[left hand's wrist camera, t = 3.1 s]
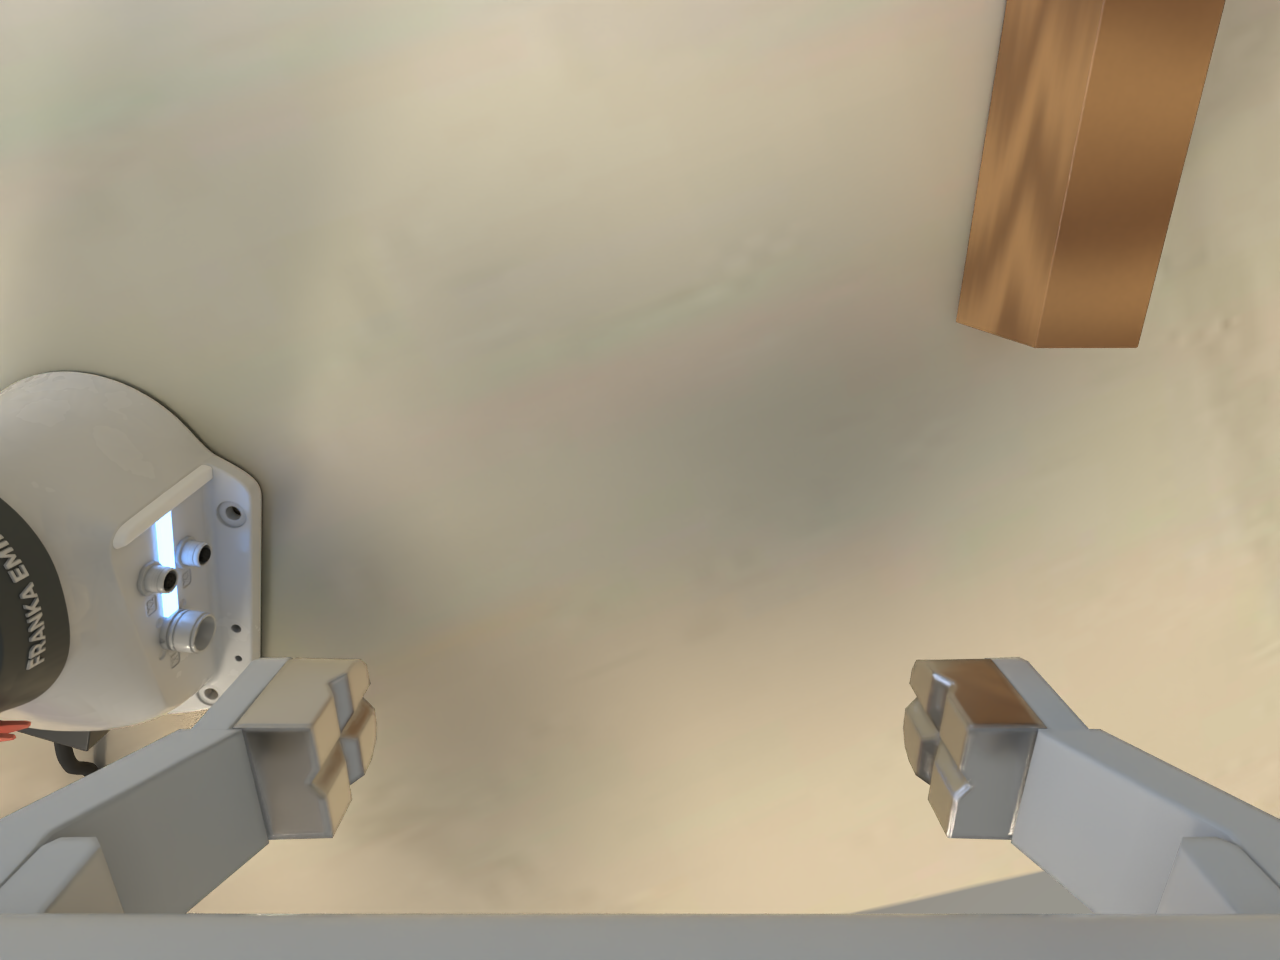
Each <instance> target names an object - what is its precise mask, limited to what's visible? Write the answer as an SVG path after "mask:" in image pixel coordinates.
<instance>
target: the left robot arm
mask: <svg viewBox="0 0 1280 960" xmlns="http://www.w3.org/2000/svg"><path fill="white" fill-rule="evenodd" d="M232 507H236V508H237V509H238V510H239V511H240V513H241V515H238V514H236V513H235V512H234V511H233V508H232ZM261 514H262V495H261V489H260V487H259V485H258V483H257V482H256V480H255V479H254V478H253V477H252V476H250V475H249V474H248V473H246V472H245V471H243V470H242V469H240V468H239V467H237V466H235V465H233V464H232V463H230V462H228V461H226V460H224V459H222V458H220V457H219V456H217V455H215V454H213V453H212V452H211V451H210V450H208V449H207V448H206V447H205V446H204V445H203V444H202V443H201V442H200V441H199V440H198V439H197V438H196V437H195V436H194V434H193V433H192V432H191V431H190V430H189V429H188V428H187V427H186V426H185V425H184V424H183V423H182V422H181V421H180V420H179V419H178V418H177V417H176V416H175V415H173V414H172V413H171V412H170V411H169V410H167V409H166V408H165V407H163V406H162V405H161V404H159V403H158V402H156V401H155V400H154V399H152V398H150V397H149V396H147V395H145V394H144V393H142V392H140V391H138V390H136V389H134V388H132V387H130V386H128V385H125V384H123V383H121V382H118V381H115V380H112V379H109V378H106V377H102V376H98V375H94V374H89V373H82V372H70V371H59V372H48V373H42V374H37V375H33V376H30V377H27V378H24V379H21V380H19V381H17V382H15V383H13V384H11V385H10V386H8V387H7V388H5V389H4V390H3V391H1V392H0V742H1V741H9V740H14V739H15V738H16V736H15V735H13V734H8V733H11V732H14V731H18V732H21V733H25V734H28V735H32V736H35V737H39V738H42V739H45V740H49V741H52V742H54V746H55V751H56V755H57V758H58V761H59V763H60V764H61V766H62V768H63V769H64V770H65V771H66V772H67V773H70V774H76V775H84V776H85V777H83V778H81V779H79V780H77V781H75V782H73V783H71V784H69V785H67V786H65V787H63V788H61V789H59V790H57V791H55V792H53V793H51V794H49V795H47V796H45V797H43V798H41V799H39V800H37V801H35V802H33V803H31V804H29V805H27V806H25V807H23V808H21V809H19V810H17V811H15V812H14V813H12V814H10V815H8V816H6V817H4V818H2V819H0V960H1280V819H1278V818H1276V817H1274V816H1272V815H1270V814H1268V813H1266V812H1264V811H1262V810H1260V809H1258V808H1256V807H1254V806H1252V805H1250V804H1248V803H1246V802H1244V801H1242V800H1240V799H1238V798H1236V797H1234V796H1232V795H1230V794H1228V793H1226V792H1224V791H1222V790H1220V789H1218V788H1216V787H1214V786H1212V785H1210V784H1208V783H1206V782H1204V781H1202V780H1200V779H1198V778H1196V777H1194V776H1192V775H1190V774H1188V773H1186V772H1184V771H1182V770H1180V769H1178V768H1176V767H1174V766H1172V765H1170V764H1168V763H1166V762H1164V761H1162V760H1160V759H1159V758H1157V757H1155V756H1153V755H1151V754H1149V753H1147V752H1145V751H1143V750H1141V749H1139V748H1137V747H1135V746H1133V745H1131V744H1129V743H1127V742H1125V741H1123V740H1121V739H1119V738H1117V737H1115V736H1113V735H1111V734H1109V733H1107V732H1105V731H1103V730H1101V729H1088V728H1087V726H1086V725H1085V724H1084V723H1083V722H1082V721H1081V720H1080V719H1079V718H1078V716H1077V715H1076V714H1075V713H1074V712H1073V711H1072V710H1071V709H1070V708H1069V706H1068V705H1067V704H1066V703H1065V702H1064V701H1063V700H1062V699H1061V698H1060V696H1059V695H1058V694H1057V693H1056V692H1055V691H1054V690H1053V689H1052V688H1051V686H1050V685H1049V684H1048V683H1047V682H1046V681H1045V680H1044V679H1043V678H1042V676H1041V675H1040V674H1039V673H1038V672H1037V671H1036V670H1035V669H1034V668H1033V666H1032V665H1031V664H1030V663H1029V662H1028V661H1026V660H1024V659H1022V658H1020V657H1004V658H985V659H942V660H916V662H915V664H914V666H913V668H912V672H911V678H910V683H909V684H910V685H911V687H912V689H913V691H914V692H915V694H916V696H917V697H916V698H915V700H914V701H913V702H912V703H911V704H910V705H909V706H908V707H907V708H906V709H905V716H904V725H903V732H904V743H905V749H906V753H907V756H908V759H909V762H910V764H911V766H912V768H913V771H914V773H915V775H916V776H918V777H919V778H921V779H922V780H923V781H925V782H926V783H928V784H929V785H930V789H929V795H928V801H929V803H930V805H931V807H932V808H933V810H934V812H935V814H936V816H937V818H938V820H939V822H940V824H941V826H942V828H943V830H944V832H945V834H946V836H947V838H969V839H1004V840H1011V843H1012V844H1013V845H1014V846H1015V847H1017V848H1018V849H1019V850H1020V851H1021V852H1022V853H1024V854H1025V855H1026V856H1027V857H1028V858H1030V859H1031V860H1032V861H1033V862H1034V863H1036V864H1037V865H1038V866H1039V867H1040V868H1041V869H1043V870H1044V871H1045V872H1046V873H1047V874H1049V875H1050V876H1051V877H1052V878H1053V879H1055V880H1056V881H1057V882H1058V883H1059V884H1060V885H1062V886H1063V887H1064V888H1065V889H1066V890H1068V891H1069V892H1070V893H1071V894H1072V895H1074V896H1075V897H1076V898H1077V899H1078V900H1079V901H1081V902H1082V903H1083V904H1084V905H1085V906H1087V907H1088V908H1089V909H1090V910H1091V911H1092V912H1094V913H1095V914H185V913H187V912H188V911H189V910H190V909H191V908H192V907H194V906H195V905H196V904H197V903H198V902H200V901H201V900H202V899H203V898H204V897H206V896H207V895H208V894H209V893H210V892H212V891H213V890H214V889H215V888H216V887H217V886H219V885H220V884H221V883H222V882H223V881H225V880H226V879H227V878H228V877H229V876H231V875H232V874H233V873H234V872H235V871H236V870H238V869H239V868H240V867H241V866H242V865H244V864H245V863H246V862H247V861H248V860H250V859H251V858H252V857H253V856H254V855H255V854H257V853H258V852H259V851H260V850H261V849H263V848H264V847H265V846H266V845H267V844H269V840H276V839H310V838H333V836H334V834H335V832H336V830H337V828H338V826H339V824H340V822H341V820H342V818H343V816H344V814H345V812H346V810H347V809H348V807H349V805H350V803H351V801H352V795H351V789H350V785H351V784H352V783H354V782H355V781H357V780H358V779H359V778H361V777H362V776H364V775H365V773H366V770H367V768H368V766H369V764H370V762H371V760H372V756H373V752H374V747H375V743H376V730H377V722H376V715H375V709H374V708H373V707H372V706H371V705H370V704H369V703H368V702H367V701H366V700H365V698H364V697H363V696H364V694H365V692H366V691H367V689H368V687H369V685H370V684H371V683H370V678H369V673H368V668H367V664H366V663H365V662H363V661H362V660H361V659H338V658H291V657H274V658H260V656H261ZM213 689H214V690H216V691H217V692H215V691H214V690H213ZM206 709H209V710H208V711H207V712H206V713H205V714H204V715H203V716H202V718H201V719H200V720H199V721H198V722H197V723H196V724H195V725H194V726H193V728H192V729H179V730H177V731H175V732H173V733H171V734H169V735H167V736H165V737H163V738H161V739H159V740H157V741H155V742H153V743H151V744H149V745H147V746H145V747H143V748H141V749H139V750H137V751H135V752H133V753H131V754H129V755H127V756H125V757H123V758H121V759H119V760H117V761H115V762H113V763H111V764H109V765H107V766H105V767H103V768H101V769H99V770H98V768H97V767H96V765H95V764H93V763H90V762H80V761H78V760H77V759H76V758H75V756H74V753H73V749H72V747H73V748H76V749H80V750H83V751H88V750H89V749H90V748H91V747H92V746H93V745H94V744H96V743H97V742H98V741H99V740H100V739H101V738H102V737H103V736H104V735H105V734H106V733H107V732H108V731H109V730H112V729H119V728H125V727H130V726H134V725H139V724H142V723H145V722H148V721H151V720H154V719H156V718H158V717H161V716H163V715H165V714H174V713H186V712H194V711H201V710H206Z"/></svg>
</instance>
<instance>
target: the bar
mask: <svg viewBox="0 0 1280 960" xmlns="http://www.w3.org/2000/svg"><path fill="white" fill-rule="evenodd" d="M1224 4H1225V0H1007V4H1006V10H1005V16H1004V23H1003V29H1002V35H1001V42H1000V48H999V54H998V61H997V67H996V73H995V79H994V86H993V92H992V98H991V105H990V111H989V117H988V124H987V130H986V136H985V143H984V149H983V155H982V161H981V168H980V174H979V180H978V187H977V193H976V199H975V206H974V212H973V218H972V225H971V231H970V237H969V243H968V250H967V256H966V262H965V269H964V275H963V281H962V288H961V294H960V300H959V307H958V313H957V319H956V322H957V323H961V324H964V325H967V326H970V327H973V328H976V329H979V330H982V331H985V332H988V333H991V334H994V335H997V336H1000V337H1003V338H1006V339H1009V340H1012V341H1015V342H1018V343H1022V344H1025V345H1028V346H1031V347H1034V348H1136V347H1138V344H1139V340H1140V336H1141V332H1142V328H1143V324H1144V320H1145V316H1146V312H1147V308H1148V304H1149V300H1150V296H1151V293H1152V289H1153V285H1154V281H1155V277H1156V273H1157V269H1158V265H1159V261H1160V257H1161V253H1162V249H1163V245H1164V241H1165V237H1166V233H1167V229H1168V225H1169V221H1170V217H1171V214H1172V210H1173V206H1174V202H1175V198H1176V194H1177V190H1178V186H1179V182H1180V178H1181V174H1182V170H1183V166H1184V162H1185V158H1186V154H1187V150H1188V146H1189V142H1190V138H1191V135H1192V131H1193V127H1194V123H1195V119H1196V115H1197V111H1198V107H1199V103H1200V99H1201V95H1202V91H1203V87H1204V83H1205V79H1206V75H1207V71H1208V67H1209V63H1210V59H1211V55H1212V52H1213V48H1214V44H1215V40H1216V36H1217V32H1218V28H1219V24H1220V20H1221V16H1222V12H1223V8H1224Z"/></svg>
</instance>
